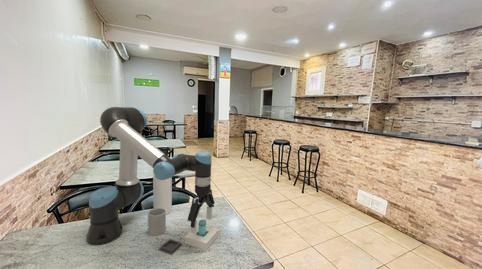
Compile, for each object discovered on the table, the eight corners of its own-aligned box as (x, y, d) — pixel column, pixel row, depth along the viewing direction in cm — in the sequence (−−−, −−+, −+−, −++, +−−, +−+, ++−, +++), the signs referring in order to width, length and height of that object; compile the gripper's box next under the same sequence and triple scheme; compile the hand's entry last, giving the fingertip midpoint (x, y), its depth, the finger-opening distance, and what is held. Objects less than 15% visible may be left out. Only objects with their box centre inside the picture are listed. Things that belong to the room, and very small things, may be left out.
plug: (197, 241, 99) (197, 222, 98) (201, 237, 103) (201, 218, 102) (203, 243, 98) (203, 224, 97) (207, 239, 101) (207, 220, 100)
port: (184, 244, 97) (184, 236, 97) (198, 230, 108) (198, 223, 108) (206, 251, 93) (206, 243, 92) (218, 236, 104) (218, 229, 103)
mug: (161, 236, 102) (161, 216, 101) (145, 236, 102) (144, 215, 101) (170, 223, 114) (170, 205, 113) (155, 223, 114) (155, 204, 113)
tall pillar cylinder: (159, 206, 133) (158, 170, 130) (174, 208, 132) (174, 171, 129) (150, 215, 122) (149, 175, 120) (167, 216, 121) (166, 176, 119)
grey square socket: (157, 251, 92) (157, 247, 91) (169, 241, 99) (169, 237, 99) (171, 256, 89) (171, 252, 88) (183, 245, 96) (183, 241, 96)
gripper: (194, 195, 84) (193, 242, 87) (221, 177, 107) (220, 215, 110) (179, 191, 87) (179, 237, 89) (209, 175, 110) (208, 212, 112)
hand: (201, 225), depth 100 cm, fingers open, 13 cm apart
